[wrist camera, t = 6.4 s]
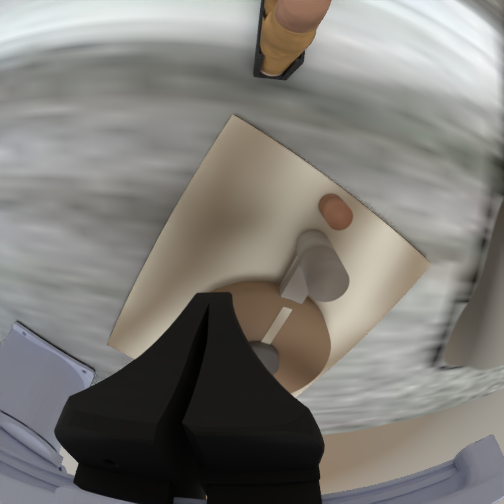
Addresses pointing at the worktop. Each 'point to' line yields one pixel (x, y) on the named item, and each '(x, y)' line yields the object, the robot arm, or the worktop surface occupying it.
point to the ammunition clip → (285, 35)
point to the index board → (265, 243)
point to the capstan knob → (292, 312)
